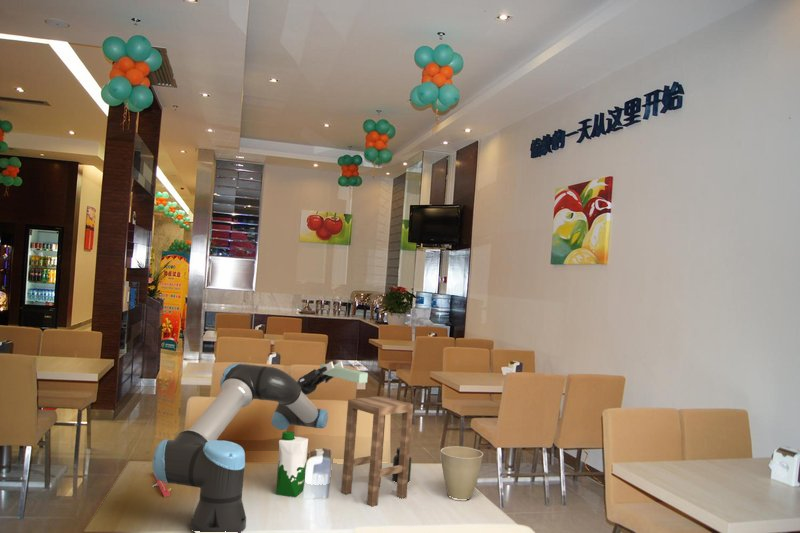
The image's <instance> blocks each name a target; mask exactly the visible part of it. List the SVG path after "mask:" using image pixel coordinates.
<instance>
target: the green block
mask: <svg viewBox="0 0 800 533" xmlns="http://www.w3.org/2000/svg"><path fill="white" fill-rule="evenodd" d="M327 364H328V363H323V364H322V363H321V364H319V368H322V367H324V366H325V365H327ZM333 366H334V369H332V370H330V371H329V372H327V373H326V374H325V375H328V376H332V377H333V378H337V379H340V380H345V381H349V382H353V383H357V384H364V383H365V384H366V383H368V379H369V378H368V376H369V373H368V372H366V371H365V372H364V371H360V370H355V369H351V368H347V367H344V366H343V367H339V366H335V364H333ZM322 374H323V373H322Z"/></svg>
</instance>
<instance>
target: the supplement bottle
mask: <svg viewBox="0 0 800 533" xmlns="http://www.w3.org/2000/svg"><path fill="white" fill-rule="evenodd" d="M395 453H396V454H395V455H394V456H393V457H392V458H393V459H392V466H397V465H399V453H400V446H399V447H397V448H396V452H395ZM412 461H413V460H412V457H411V456H410V457H409V471H408V482H409V481H411V476H412V475H411V474H412V463H413V462H412ZM391 480H392V482H393V481H395V482H397V481H398V473H396V474H391ZM395 482H394V483H395ZM409 483H410V482H409Z"/></svg>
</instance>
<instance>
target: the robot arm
mask: <svg viewBox="0 0 800 533" xmlns="http://www.w3.org/2000/svg"><path fill="white" fill-rule="evenodd" d="M326 364H327V365H325V366H324V367H322V368H320V367H319V368H317V369H315V368H314V369H313V370H311V371H310V372H308V373H306V374H304V375H302V376H300V377H299V378H297V379H295V378H294V377H293V376H291V375H290V374H289V373H287V372H285V370H281V369H279V368H278V367H275V366H268V365H267V366H266V365H256V364H249V363H243V362H242V363H232V364H230V365H228V366H227V367H226V368H225V369H224V370H223V373H222V376H221V377H220V383H219V386H220V392H219V394H218V395H217V396H216V397H215V398H214V400H213V401H212V402H211V403H210V405H208V406H207V408H206V409H205V410H204V411H203V413H202V414H201V415H200V416H199V417H198V418H197V420H196V421H195V422H194V423H193V425H191V427H190V428H189V429H185V430H182V431H180V432H179V433H178V435H176V437H175V438H174V439H170V438H168V439H162V440H161V441H159V443H158V445H157V446H156V448H155V449H154V450H155V451H154V454H153V457H152V458H153V460H152V473H153V472H154V474H153V476H154V475H155V476H154V478H155V477H156V478H157V479H158V480H160V481H163V482H164V483H167V484H174V485H180V486H187V487H188V486H189V487H193V488H198V489H199V488H200V490H199V492H200V493H199V499H198V503H197V505H196V507H195V510H194V513H193V515H192V517H191V522H190V530H191V531H192V530H193V531H200V532H225V531H226V532H240V531H242V532H243V531H244V530H245V529H246V527H247V516H246V511H245V507H244V503H243V487H244V476H245V467H246V453H245V450H244V448H243V446H241V445H240V444H238V443H236V442H233V441H229V440H222V439H221V440H220V439H219V437H220V436H221V434H222V433H223V432H224V431H225V429H226V428H227V427H228V425H229V424H230V423H231V422H232V420H233V419H234V418H235V416H236V415H237V414H238V413H239V411H240V410H241V409H242V408H245V407H247V406H249V405H250V404H251V403H252V402H253V400H260V401H271V402H277V403H278V404H277V405H276V408H275V409H274V412H273V413H272V418H271V421H270V422H271V424H272V426H273V427H274V428H275V429H277V430H280V431H287V430H288V428H289V427H290V426H291V425H292V426H297V427H298V426H301V427H307V428H313V429H324V428H326V426H327V424H328V419H329V414H328V413H329V412H328V410H327V409H323V408H318V407H317V406H316V405H315V404H314V403H313V402H312V401H311V400H310V398H308V397H307V396H309V395H310V394H312V393H314V392H315V390H316V389H317V387H318V385H320V384H322V383H324V384H325V383H328V382H329V381H330V380H332V379H334V377H332V376H328V375H325V374H326V373H327V372H329V371H330V370H332V369H334V366H333V365H335V366H339V367H344V364H343V361H342V360H340V361H339V362H336V363H335V364H334V363H333V361H329V362H328V363H326ZM322 373H323V374H322ZM218 439H219V440H218ZM156 478H155V479H156ZM240 533H241V532H240Z"/></svg>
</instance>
